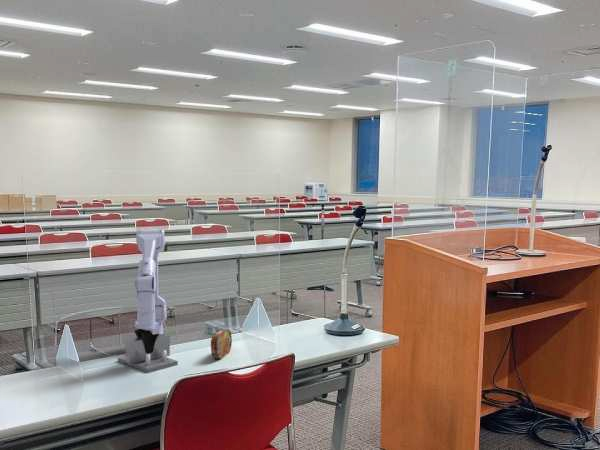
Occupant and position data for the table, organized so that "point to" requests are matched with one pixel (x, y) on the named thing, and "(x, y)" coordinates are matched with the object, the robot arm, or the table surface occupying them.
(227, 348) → the tin
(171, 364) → the tray
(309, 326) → the table surface
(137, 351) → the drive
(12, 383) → the table surface
